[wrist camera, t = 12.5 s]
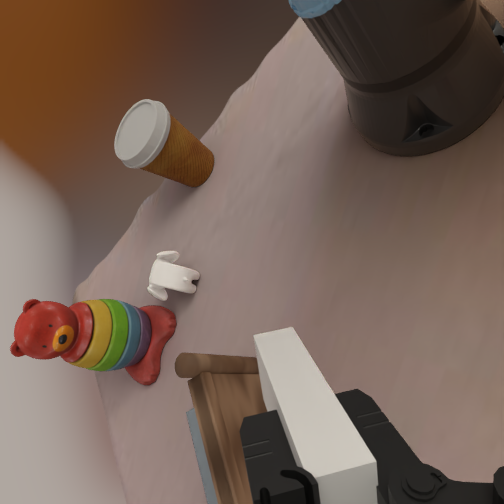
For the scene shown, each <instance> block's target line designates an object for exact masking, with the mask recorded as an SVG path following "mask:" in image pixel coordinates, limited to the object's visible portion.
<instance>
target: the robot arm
mask: <svg viewBox="0 0 504 504" xmlns="http://www.w3.org/2000/svg"><path fill="white" fill-rule="evenodd" d="M289 4H290V6H291V8H292V9H293V10H294V12H295V13H296V14H297V15H298V16H300V17H301V18H302V20H303V21H304V22H305V24H306V25H307V27H308V28H309V30H310V31H311V32H312V34H313V35H314V37H315V38H316V40H317V41H318V43H319V44H320V45H321V47H322V48H323V50H324V51H325V53H326V54H327V55H328V57H329V58H330V60H331V61H332V63H333V64H334V65H335V67H336V68H337V70H338V71H339V73H340V74H341V75H342V77H343V79H344V83H345V90H346V95H347V100H348V111H349V114H350V117H351V120H352V122H353V124H354V126H355V127H356V129H357V130H358V131H359V133H360V134H361V135H362V137H363V138H364V139H365V140H366V141H367V142H368V143H369V144H370V145H371V146H373V147H374V148H376V149H378V150H380V151H382V152H385V153H388V154H392V155H399V156H415V155H422V154H427V153H431V152H435V151H438V150H441V149H443V148H446V147H448V146H450V145H452V144H454V143H456V142H458V141H460V140H462V139H463V138H465V137H466V136H468V135H469V134H471V133H472V132H473V131H475V130H476V129H477V128H478V127H479V126H480V125H482V124H483V123H484V122H485V121H486V120H487V119H488V118H489V117H490V115H491V114H492V113H493V112H494V110H495V109H496V108H497V106H498V105H499V103H500V102H501V100H502V98H503V97H504V29H503V27H502V26H501V24H500V23H499V22H498V21H497V19H496V18H495V17H494V16H493V15H492V14H491V13H490V12H489V10H488V9H487V8H486V7H485V6H484V5H483V4H482V3H481V2H480V0H289ZM253 337H254V344H255V350H256V356H257V362H258V369H259V375H260V381H261V387H262V394H263V399H264V402H265V405H266V408H267V411H268V412H264V413H260V414H256V415H252V416H248V417H244V418H243V421H242V425H241V428H240V431H239V433H240V438H241V443H242V449H243V454H244V460H245V465H246V470H247V476H248V481H249V486H250V491H251V496H252V501H253V504H504V466H503V467H500V468H499V469H498V470H497V471H496V472H495V474H494V482H493V483H475V482H460V481H453V480H450V479H448V478H447V477H446V476H445V475H444V474H443V473H442V472H441V471H439V470H438V469H436V468H434V467H432V466H430V465H428V464H423V463H422V462H421V461H420V460H419V459H418V457H417V456H416V455H415V453H414V452H413V451H412V450H411V448H410V447H409V446H408V444H407V443H406V442H405V440H404V439H403V438H402V437H401V435H400V434H399V433H398V431H397V430H396V429H395V427H394V426H393V425H392V424H391V422H389V420H388V418H387V417H386V416H385V414H384V413H383V412H381V409H380V408H379V407H378V405H377V404H376V403H375V401H374V400H373V399H372V398H371V397H370V396H368V395H366V394H365V393H363V392H362V391H360V390H358V389H354V390H350V391H346V392H342V393H338V394H334V393H333V391H332V389H331V388H330V386H329V385H328V383H327V381H326V380H325V378H324V377H323V375H322V373H321V372H320V370H319V369H318V367H317V365H316V364H315V362H314V361H313V359H312V357H311V356H310V354H309V353H308V351H307V349H306V348H305V346H304V345H303V343H302V341H301V340H300V338H299V337H298V335H297V333H296V332H295V330H294V329H293V327H289V328H284V329H279V330H275V331H270V332H265V333H261V334H256V335H253Z"/></svg>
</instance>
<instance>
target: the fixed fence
mask: <svg viewBox="0 0 504 504" xmlns="http://www.w3.org/2000/svg"><path fill="white" fill-rule="evenodd" d="M175 371H176V374H177V375H178V376H179V377H180V378H192V379H190V380H189V381H188V385H189V389H190V393H191V397H192V401H193V405H194V409H195V413H196V417H197V421H198V425H199V429H200V433H201V437H202V441H203V445H204V449H205V453H206V457H207V461H208V465H209V469H210V473H211V477H212V481H213V485H214V489H215V493H216V497H217V502H218V504H253V501H252V496H251V491H250V486H249V481H248V476H247V470H246V465H245V460H244V454H243V449H242V443H241V438H240V433H239V431H240V428H241V425H242V421H243V418H244V417H248V416H252V415H256V414H260V413H264V412H268V411H267V408H266V405H265V402H264V399H263V394H262V387H261V381H260V375H259V369H258V362H257V358H255V357H241V356H226V355H211V354H196V353H181V354H180V355H179V356H178V357H177V359H176V362H175Z"/></svg>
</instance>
